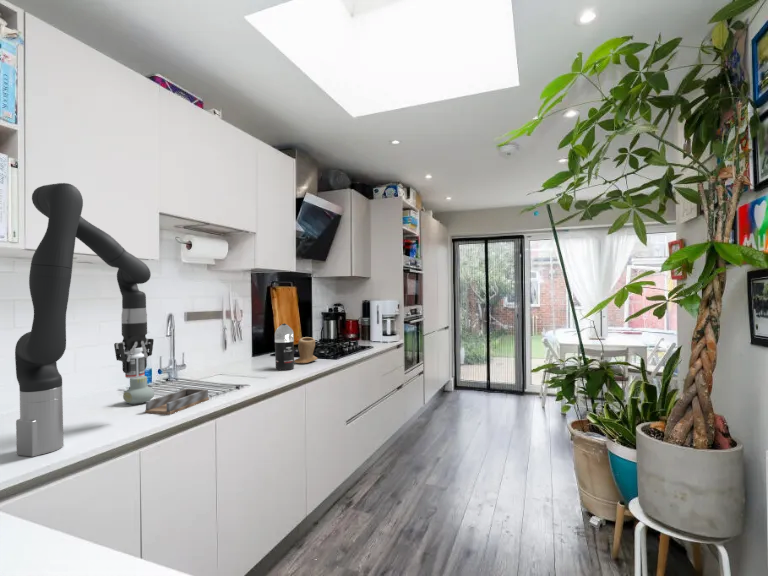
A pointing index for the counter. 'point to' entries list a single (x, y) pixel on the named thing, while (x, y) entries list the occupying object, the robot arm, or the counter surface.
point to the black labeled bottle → (284, 348)
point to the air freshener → (138, 391)
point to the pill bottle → (136, 364)
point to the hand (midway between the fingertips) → (135, 370)
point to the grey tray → (176, 401)
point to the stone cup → (306, 350)
